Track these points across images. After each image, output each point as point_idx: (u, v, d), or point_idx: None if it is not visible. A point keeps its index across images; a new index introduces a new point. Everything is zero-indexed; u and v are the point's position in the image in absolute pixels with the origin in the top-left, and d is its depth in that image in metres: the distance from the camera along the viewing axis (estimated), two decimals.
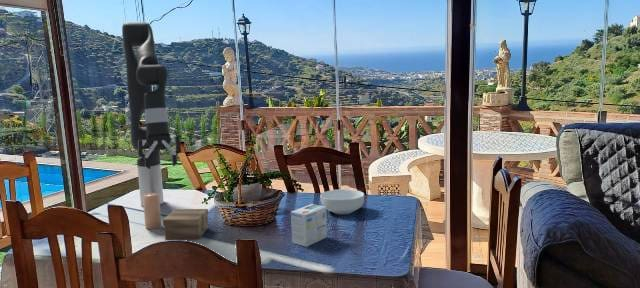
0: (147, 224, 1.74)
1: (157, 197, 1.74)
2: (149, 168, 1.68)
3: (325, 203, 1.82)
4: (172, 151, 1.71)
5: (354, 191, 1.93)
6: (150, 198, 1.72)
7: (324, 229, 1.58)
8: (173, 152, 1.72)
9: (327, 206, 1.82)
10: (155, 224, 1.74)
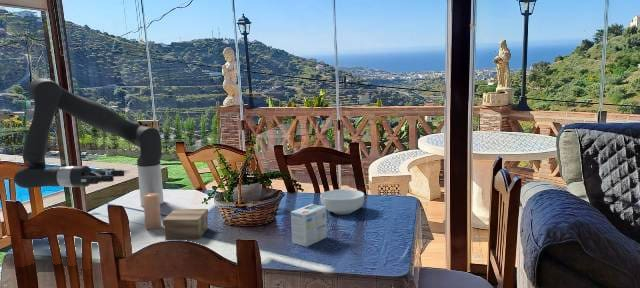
0: (147, 224, 1.74)
1: (157, 197, 1.74)
2: (123, 175, 1.78)
3: (325, 203, 1.82)
4: None
5: (354, 191, 1.93)
6: (150, 198, 1.72)
7: (324, 229, 1.58)
8: None
9: (327, 206, 1.82)
10: (155, 224, 1.74)
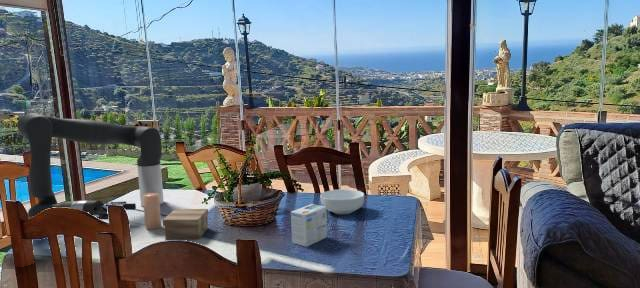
0: (147, 224, 1.73)
1: (157, 197, 1.74)
2: None
3: (325, 203, 1.82)
4: None
5: (354, 191, 1.93)
6: (150, 198, 1.72)
7: (324, 229, 1.58)
8: None
9: (327, 206, 1.82)
10: (155, 224, 1.74)
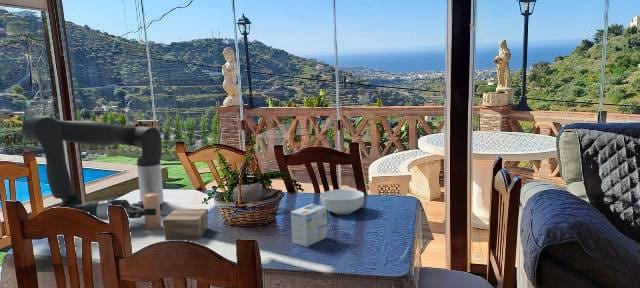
0: (147, 224, 1.74)
1: (157, 197, 1.74)
2: (161, 209, 1.78)
3: (325, 203, 1.82)
4: None
5: (354, 191, 1.93)
6: (150, 198, 1.72)
7: (324, 229, 1.58)
8: None
9: (327, 206, 1.82)
10: (155, 224, 1.74)
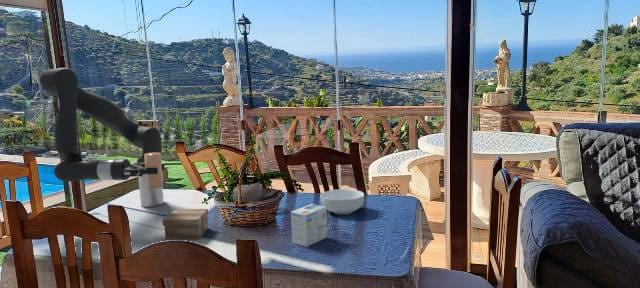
0: (148, 183, 1.69)
1: (159, 156, 1.69)
2: (163, 169, 1.74)
3: (325, 203, 1.82)
4: None
5: (354, 191, 1.93)
6: (152, 156, 1.67)
7: (324, 229, 1.58)
8: None
9: (327, 206, 1.82)
10: (157, 184, 1.69)
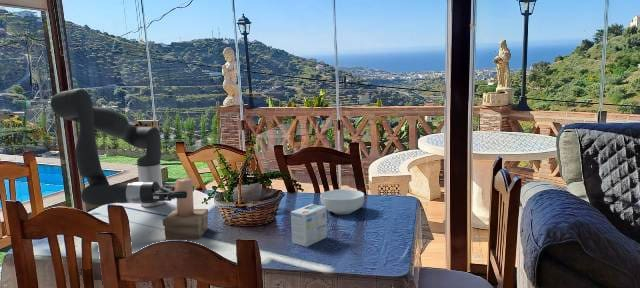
0: (179, 210, 1.64)
1: (191, 182, 1.64)
2: (193, 191, 1.69)
3: (325, 203, 1.82)
4: None
5: (354, 191, 1.93)
6: (184, 183, 1.62)
7: (324, 229, 1.58)
8: None
9: (327, 206, 1.82)
10: (188, 211, 1.64)
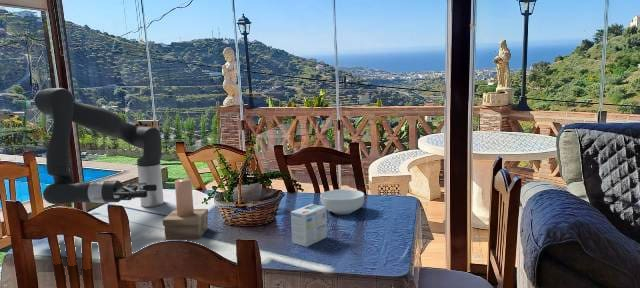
0: (179, 211, 1.64)
1: (190, 182, 1.64)
2: (156, 190, 1.70)
3: (325, 203, 1.82)
4: None
5: (354, 191, 1.93)
6: (183, 183, 1.62)
7: (324, 229, 1.58)
8: None
9: (327, 206, 1.82)
10: (188, 211, 1.64)
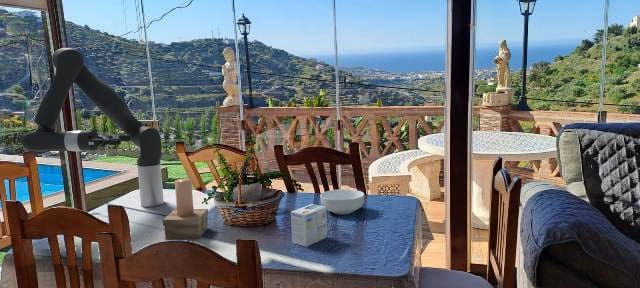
0: (179, 211, 1.64)
1: (190, 182, 1.64)
2: (130, 140, 1.78)
3: (325, 203, 1.82)
4: None
5: (354, 191, 1.93)
6: (183, 183, 1.62)
7: (324, 229, 1.58)
8: None
9: (327, 206, 1.82)
10: (188, 211, 1.64)
